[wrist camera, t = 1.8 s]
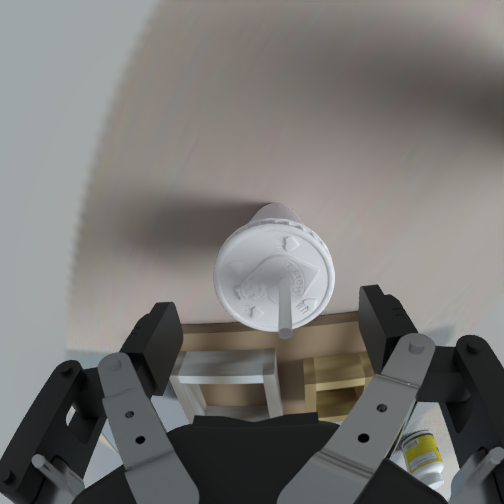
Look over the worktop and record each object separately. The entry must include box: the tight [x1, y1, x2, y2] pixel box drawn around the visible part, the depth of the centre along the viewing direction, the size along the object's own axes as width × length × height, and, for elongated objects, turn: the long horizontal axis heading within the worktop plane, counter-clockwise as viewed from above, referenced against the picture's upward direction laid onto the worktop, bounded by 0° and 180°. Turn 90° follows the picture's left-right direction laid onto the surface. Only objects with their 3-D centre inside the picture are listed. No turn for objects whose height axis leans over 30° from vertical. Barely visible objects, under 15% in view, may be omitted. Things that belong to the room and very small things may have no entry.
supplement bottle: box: [401, 430, 444, 490], centre depth 31 cm, size 5×5×10 cm
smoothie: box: [213, 203, 335, 339], centre depth 18 cm, size 6×6×14 cm
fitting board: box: [169, 311, 375, 424], centre depth 28 cm, size 20×14×5 cm
